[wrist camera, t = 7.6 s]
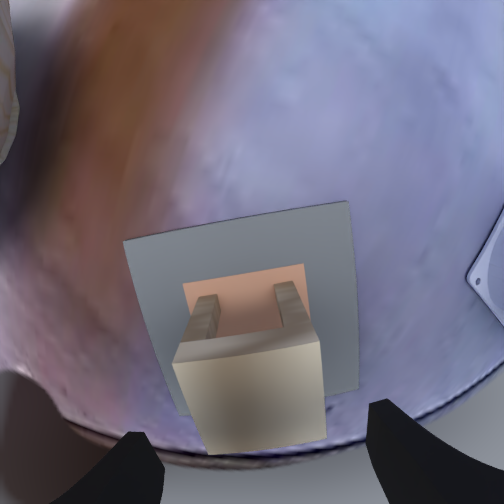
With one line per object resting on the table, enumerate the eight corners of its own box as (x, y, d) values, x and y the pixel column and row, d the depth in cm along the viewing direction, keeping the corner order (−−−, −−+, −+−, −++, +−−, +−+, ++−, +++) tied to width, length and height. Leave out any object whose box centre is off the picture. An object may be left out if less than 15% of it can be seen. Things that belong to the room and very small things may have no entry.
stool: (292, 280, 16) (319, 341, 10) (303, 359, 17) (326, 438, 11) (198, 296, 16) (171, 363, 10) (219, 373, 17) (208, 454, 11)
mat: (345, 201, 16) (348, 201, 15) (356, 384, 18) (359, 389, 18) (126, 239, 16) (122, 241, 15) (180, 411, 18) (179, 416, 18)
